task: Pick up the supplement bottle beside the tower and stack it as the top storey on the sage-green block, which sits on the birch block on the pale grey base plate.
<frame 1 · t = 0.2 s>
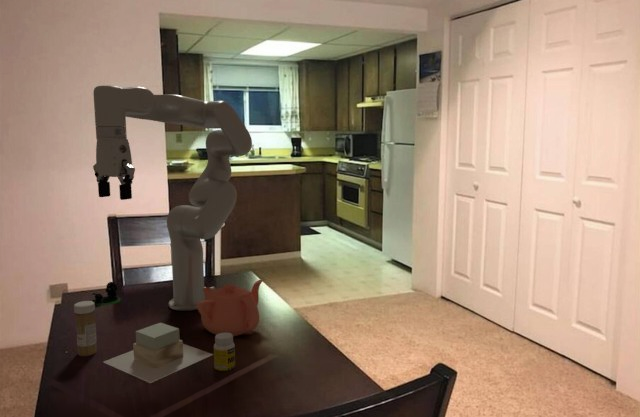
hand: (115, 197, 142), 37 cm above the table, tool pointing down, fingers open, 9 cm apart
sage block: (158, 342, 124), point 5 cm above the table, touching birch block
toy figurine: (106, 302, 171), on the table
birch block: (158, 358, 125), point 1 cm above the table, touching base plate, sage block
supplement bottle: (224, 371, 120), on the table
base plate: (159, 362, 125), on the table
sprinkles bottle: (88, 356, 129), on the table
teapot: (231, 332, 144), on the table
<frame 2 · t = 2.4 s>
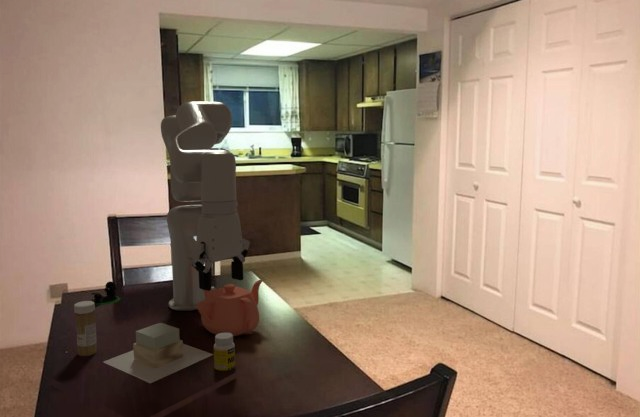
hand: (221, 284, 117), 20 cm above the table, tool pointing down, fingers open, 9 cm apart
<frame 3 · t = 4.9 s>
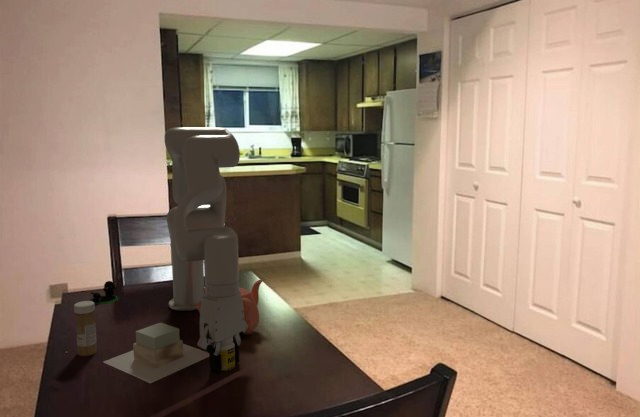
hand: (224, 364, 120), 1 cm above the table, tool pointing down, fingers closed on supplement bottle, 4 cm apart
supplement bottle: (224, 371, 120), on the table, touching gripper
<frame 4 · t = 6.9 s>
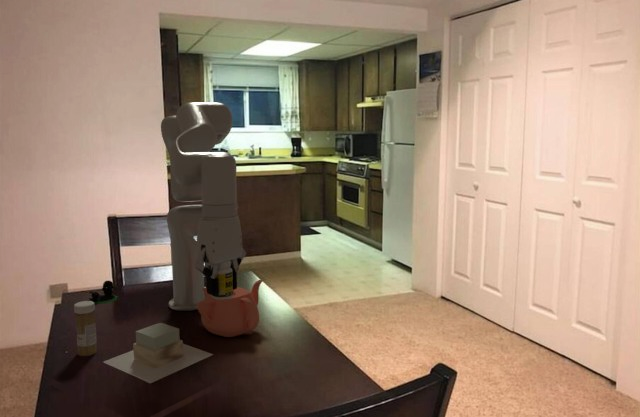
hand: (222, 290, 118), 19 cm above the table, tool pointing down, fingers closed on supplement bottle, 4 cm apart
supplement bottle: (222, 297, 118), point 17 cm above the table, touching gripper
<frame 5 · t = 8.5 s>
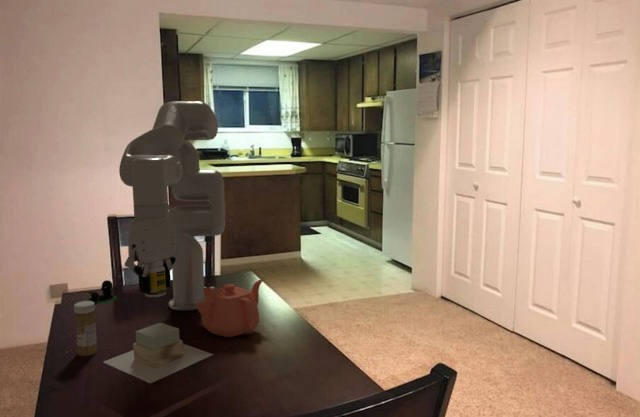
hand: (155, 288, 122), 18 cm above the table, tool pointing down, fingers closed on supplement bottle, 4 cm apart
supplement bottle: (155, 295, 123), point 16 cm above the table, touching gripper
when the fingers open (11 cm above the table, at t = 10.0 s): supplement bottle drops 2 cm, resting on sage block.
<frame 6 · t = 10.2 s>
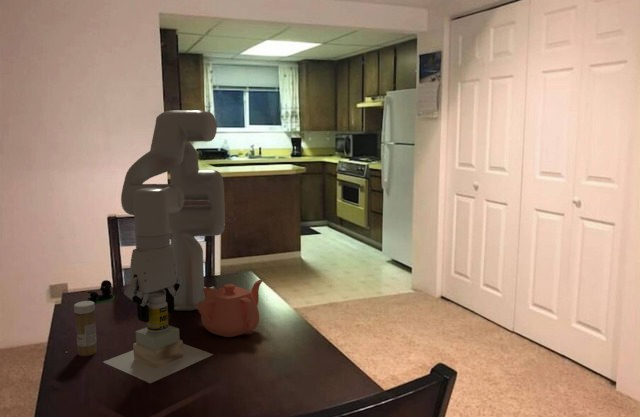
hand: (156, 316, 123), 11 cm above the table, tool pointing down, fingers open, 6 cm apart
sage block: (158, 342, 124), point 5 cm above the table, touching birch block, supplement bottle
supplement bottle: (158, 330, 124), point 8 cm above the table, touching sage block
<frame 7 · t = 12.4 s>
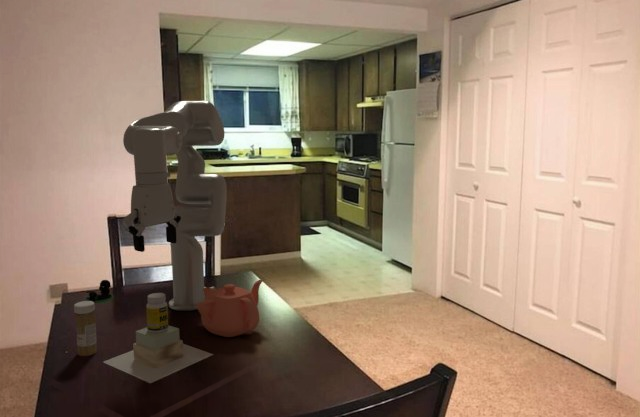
hand: (156, 246, 132), 26 cm above the table, tool pointing down, fingers open, 9 cm apart
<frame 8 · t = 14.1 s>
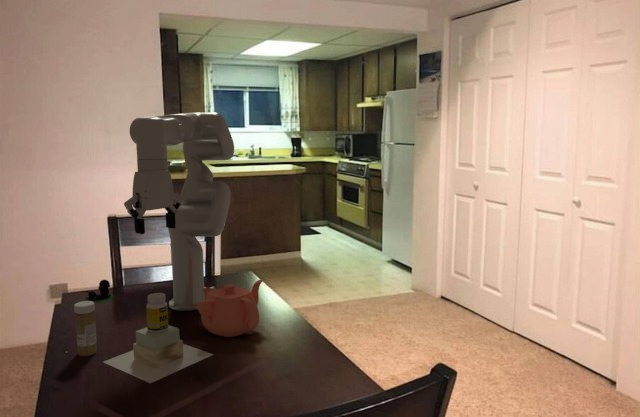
hand: (155, 230, 139), 28 cm above the table, tool pointing down, fingers open, 9 cm apart
at the end: supplement bottle 0.2 cm off-centre on the sage block, point 2.8 cm above the sage block's base; supplement bottle tilted 0°; sage block moved 0.0 cm from its start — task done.
